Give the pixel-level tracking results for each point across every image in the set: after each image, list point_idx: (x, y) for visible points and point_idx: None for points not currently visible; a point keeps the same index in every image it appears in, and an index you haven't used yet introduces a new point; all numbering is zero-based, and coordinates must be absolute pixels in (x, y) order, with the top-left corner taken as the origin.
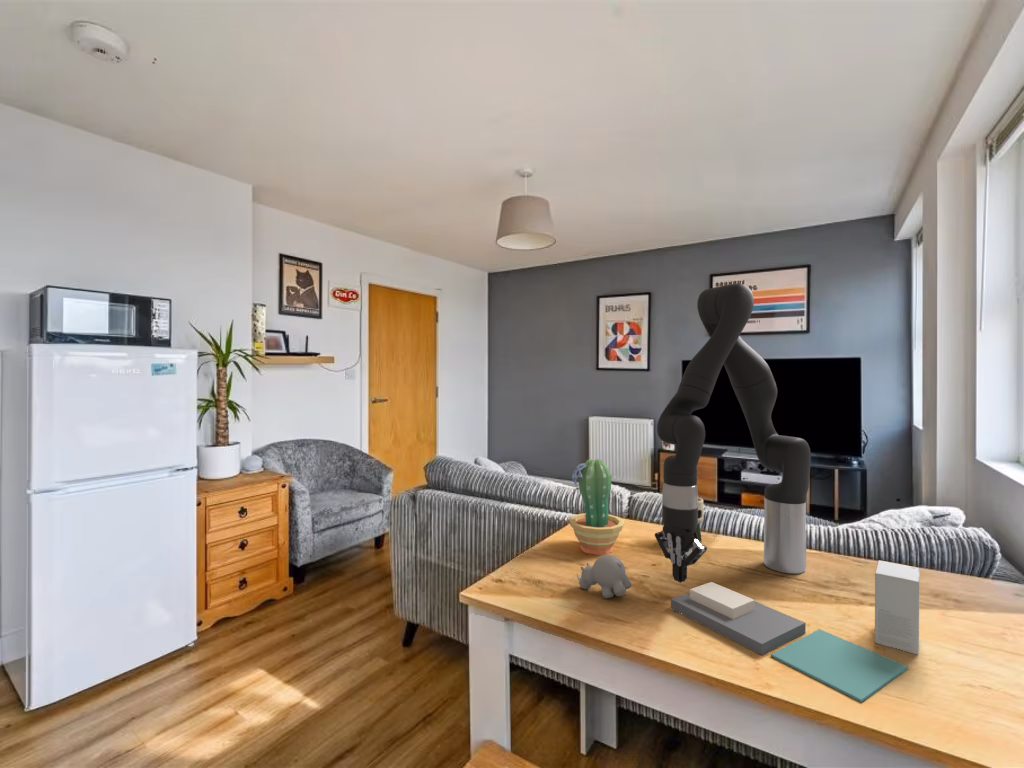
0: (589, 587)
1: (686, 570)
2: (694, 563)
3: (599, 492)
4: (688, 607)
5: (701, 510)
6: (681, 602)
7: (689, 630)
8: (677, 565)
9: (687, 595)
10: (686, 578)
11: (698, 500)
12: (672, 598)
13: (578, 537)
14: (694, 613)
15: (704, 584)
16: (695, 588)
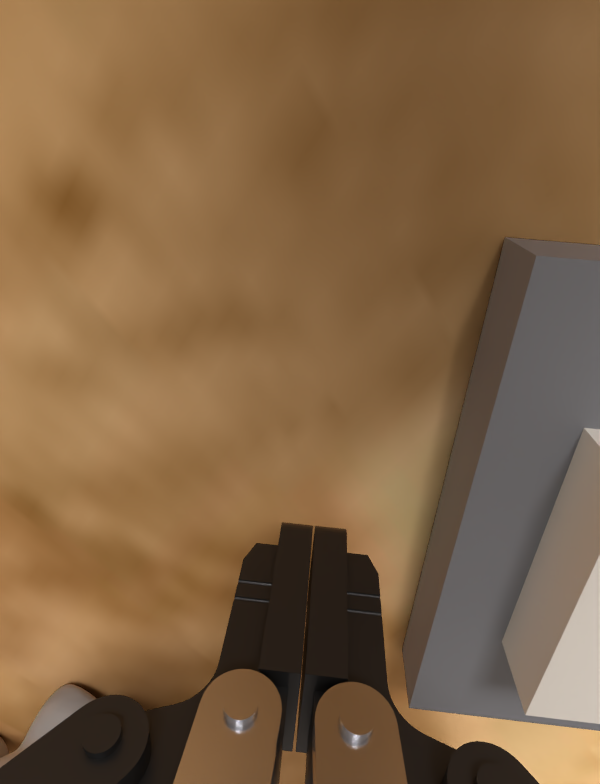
0: (5, 750)
1: (382, 648)
2: (520, 770)
3: None
4: (551, 722)
5: None
6: (485, 705)
7: (592, 738)
8: (303, 744)
9: (462, 616)
10: (372, 564)
11: None
12: (412, 699)
13: None
14: None
15: (591, 579)
16: (557, 684)
